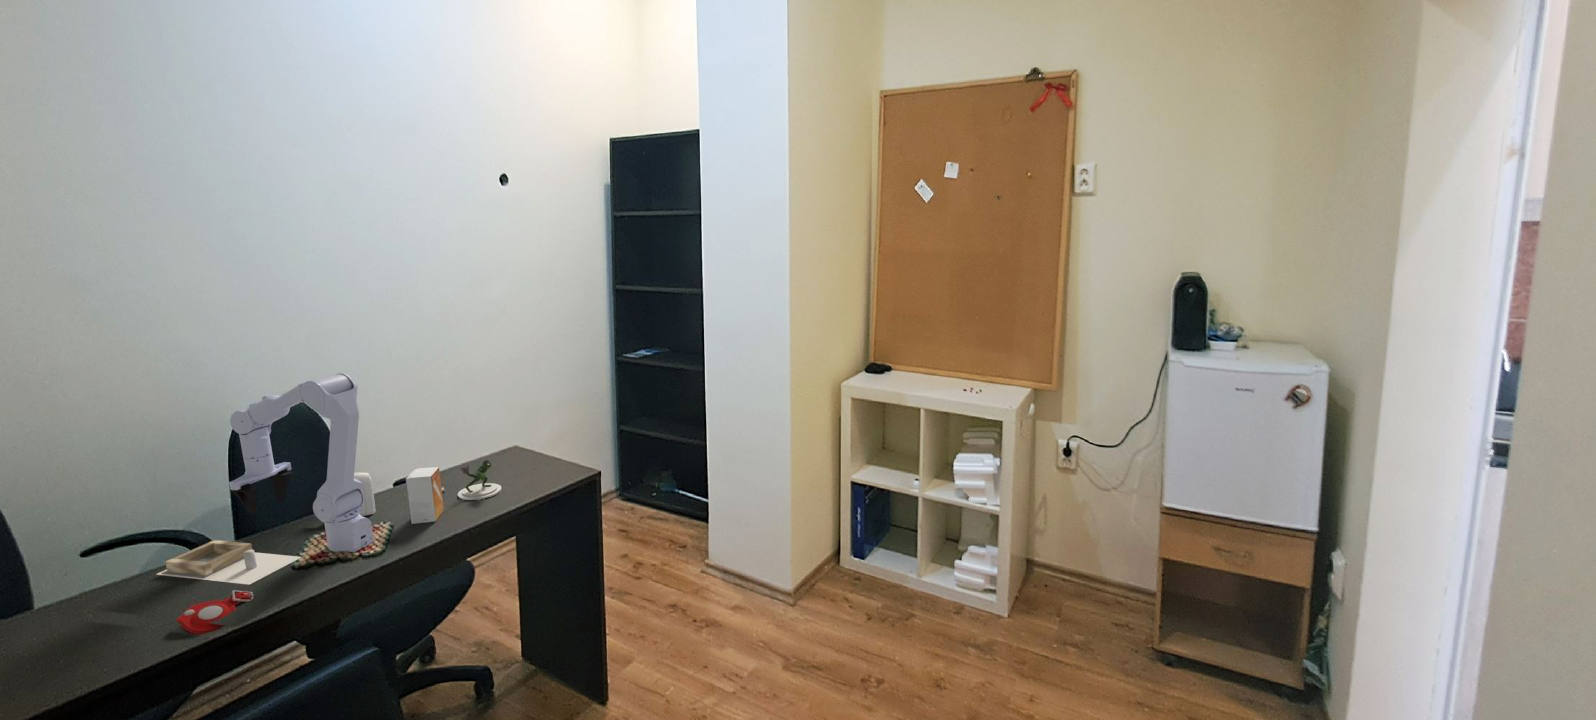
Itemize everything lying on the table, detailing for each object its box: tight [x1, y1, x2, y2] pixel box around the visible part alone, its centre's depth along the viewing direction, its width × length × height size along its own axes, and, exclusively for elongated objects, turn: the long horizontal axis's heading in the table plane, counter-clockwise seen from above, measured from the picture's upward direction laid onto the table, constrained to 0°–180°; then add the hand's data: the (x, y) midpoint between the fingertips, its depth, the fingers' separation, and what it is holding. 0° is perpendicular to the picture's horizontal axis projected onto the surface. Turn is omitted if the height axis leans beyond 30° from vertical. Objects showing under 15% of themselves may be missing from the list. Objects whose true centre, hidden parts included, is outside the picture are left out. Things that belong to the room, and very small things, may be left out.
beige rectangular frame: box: [165, 539, 253, 576], centre depth 162 cm, size 11×11×2 cm
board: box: [155, 549, 302, 585], centre depth 160 cm, size 26×13×6 cm, turn 78°
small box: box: [405, 466, 445, 525], centre depth 188 cm, size 8×6×13 cm
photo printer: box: [354, 472, 376, 517], centre depth 190 cm, size 10×4×12 cm, turn 123°
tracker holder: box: [175, 590, 255, 635], centre depth 141 cm, size 12×4×10 cm
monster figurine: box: [457, 459, 503, 501], centre depth 205 cm, size 12×12×10 cm
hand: (266, 506), depth 173 cm, fingers open, 7 cm apart
